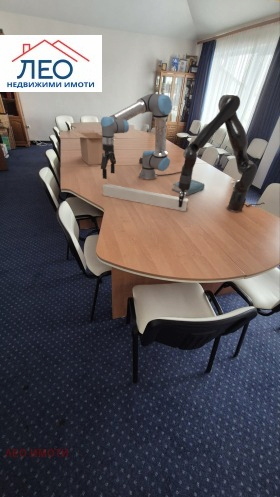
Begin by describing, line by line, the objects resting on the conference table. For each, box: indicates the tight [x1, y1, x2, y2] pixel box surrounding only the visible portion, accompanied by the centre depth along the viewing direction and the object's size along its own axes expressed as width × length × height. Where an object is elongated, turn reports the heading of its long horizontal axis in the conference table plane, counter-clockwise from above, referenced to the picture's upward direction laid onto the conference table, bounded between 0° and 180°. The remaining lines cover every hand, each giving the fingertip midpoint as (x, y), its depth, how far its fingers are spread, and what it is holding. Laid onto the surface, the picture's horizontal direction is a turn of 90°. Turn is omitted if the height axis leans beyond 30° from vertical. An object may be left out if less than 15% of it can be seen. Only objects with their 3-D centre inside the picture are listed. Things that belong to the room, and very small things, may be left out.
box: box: [70, 129, 105, 166], centre depth 229 cm, size 44×36×27 cm
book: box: [171, 179, 205, 196], centre depth 185 cm, size 23×16×5 cm
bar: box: [102, 183, 189, 212], centre depth 160 cm, size 63×5×8 cm, turn 72°
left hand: (108, 175), depth 159 cm, fingers open, 13 cm apart
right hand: (180, 205), depth 154 cm, fingers closed on bar, 5 cm apart
